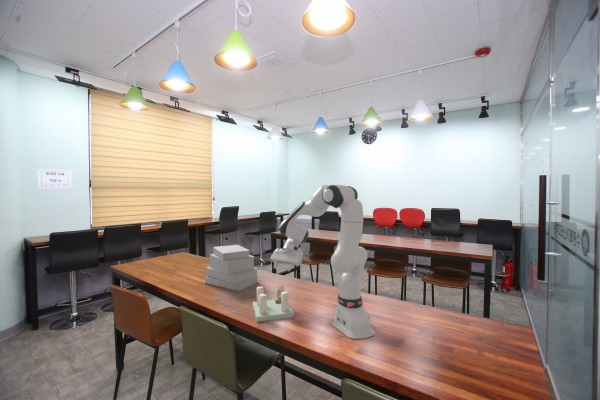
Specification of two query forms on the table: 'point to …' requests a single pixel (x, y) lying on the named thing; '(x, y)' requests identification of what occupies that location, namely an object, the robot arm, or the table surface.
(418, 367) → the table surface
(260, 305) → the stool seat
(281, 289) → the loose leg
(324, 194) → the robot arm
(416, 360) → the table surface
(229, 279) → the book stack
